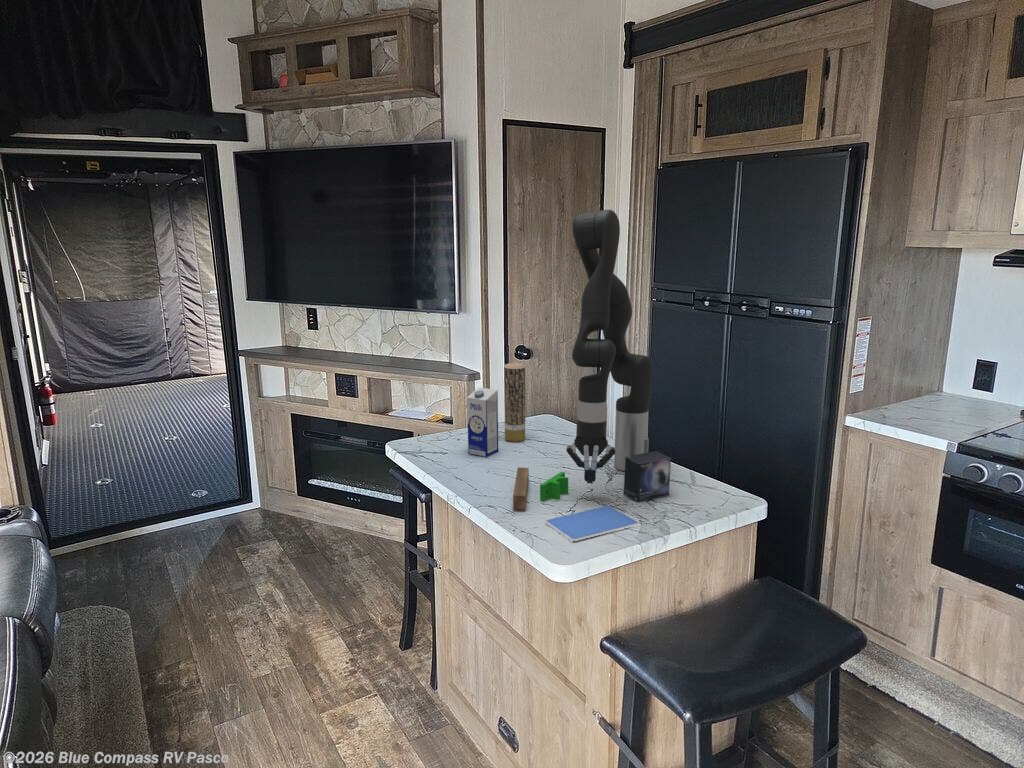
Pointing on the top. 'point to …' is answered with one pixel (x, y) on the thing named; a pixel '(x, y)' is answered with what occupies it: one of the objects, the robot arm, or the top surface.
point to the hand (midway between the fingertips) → (589, 482)
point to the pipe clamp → (554, 487)
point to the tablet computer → (590, 523)
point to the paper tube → (514, 401)
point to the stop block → (521, 489)
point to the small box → (647, 476)
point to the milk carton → (482, 422)
